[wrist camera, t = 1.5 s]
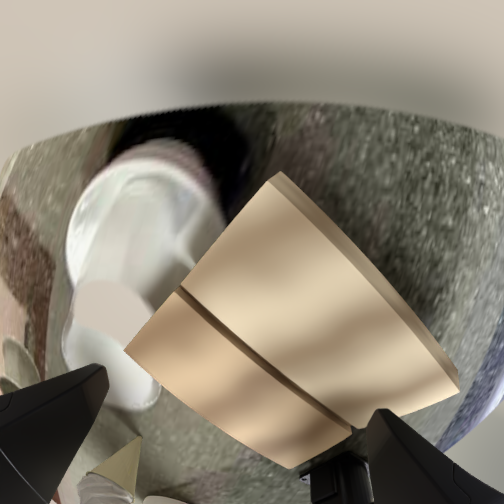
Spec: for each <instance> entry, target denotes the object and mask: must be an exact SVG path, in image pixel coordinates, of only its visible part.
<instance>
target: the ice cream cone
mask: <svg viewBox="0 0 504 504" xmlns="http://www.w3.org/2000/svg"><path fill="white" fill-rule="evenodd" d="M141 443H142V437H141V436H137V437H136V438H135V439H133V440H132V441H131V442H130V443H128V444H127V445H126V446H124V447H123V448H122V449H120V450H119V451H118V452H116V453H115V454H114V455H112V456H111V457H110V458H108V459H107V460H105V461H104V462H103V463H101V464H100V465H98V466H97V467H96V468H94V469H93V470H91V471H88V472H86V476H83V477H82V480H81V481H80V482H79V483H78V484H77V489H78V495H79V497H80V504H130V503H134V502H135V498H134V493H135V486H136V478H137V470H138V463H139V456H140V449H141Z"/></svg>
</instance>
